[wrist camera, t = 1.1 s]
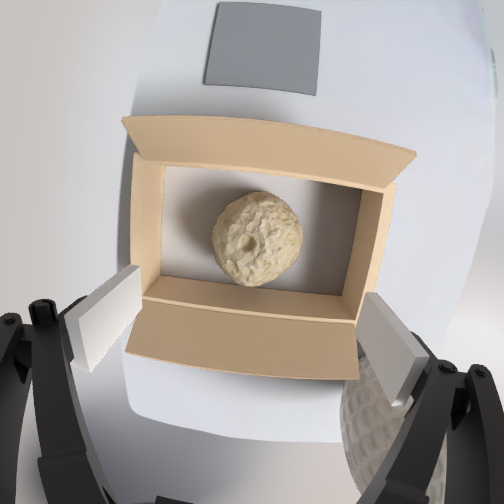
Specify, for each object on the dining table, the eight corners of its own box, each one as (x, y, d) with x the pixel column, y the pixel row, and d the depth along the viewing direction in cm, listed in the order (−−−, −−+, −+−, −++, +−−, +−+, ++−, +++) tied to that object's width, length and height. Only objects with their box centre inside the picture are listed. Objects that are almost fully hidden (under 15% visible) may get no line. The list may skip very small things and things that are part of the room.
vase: (316, 397, 38) (343, 569, 11) (343, 329, 34) (422, 535, 7) (386, 398, 38) (440, 538, 11) (419, 335, 34) (518, 482, 7)
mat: (220, 3, 23) (220, 1, 23) (320, 12, 23) (321, 11, 23) (205, 84, 27) (204, 84, 26) (315, 95, 26) (315, 94, 26)
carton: (158, 132, 28) (108, 117, 17) (376, 157, 28) (429, 155, 17) (152, 301, 34) (114, 351, 23) (343, 323, 34) (369, 380, 23)
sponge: (219, 223, 35) (189, 288, 29) (237, 161, 28) (200, 229, 21) (288, 249, 36) (272, 319, 29) (321, 195, 28) (312, 271, 22)
